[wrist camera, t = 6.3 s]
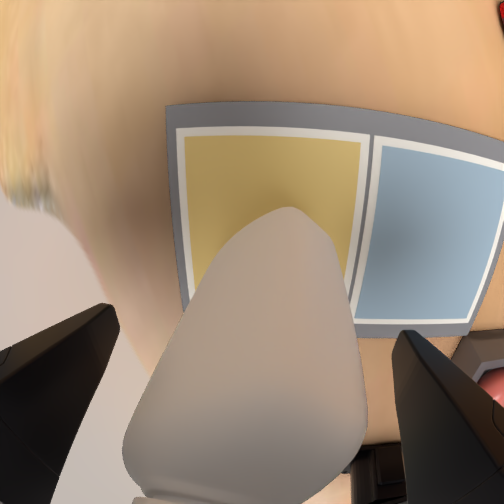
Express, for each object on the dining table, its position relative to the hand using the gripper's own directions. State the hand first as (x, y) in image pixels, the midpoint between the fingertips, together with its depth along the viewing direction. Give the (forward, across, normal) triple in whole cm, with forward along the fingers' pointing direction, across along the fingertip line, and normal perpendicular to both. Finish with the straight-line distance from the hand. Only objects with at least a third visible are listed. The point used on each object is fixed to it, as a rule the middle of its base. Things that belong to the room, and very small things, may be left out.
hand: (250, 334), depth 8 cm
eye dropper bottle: (+4, 0, 0) cm, 4 cm away
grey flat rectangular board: (+7, -4, 0) cm, 9 cm away
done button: (+5, -16, +9) cm, 19 cm away
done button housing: (+8, -16, +9) cm, 20 cm away
